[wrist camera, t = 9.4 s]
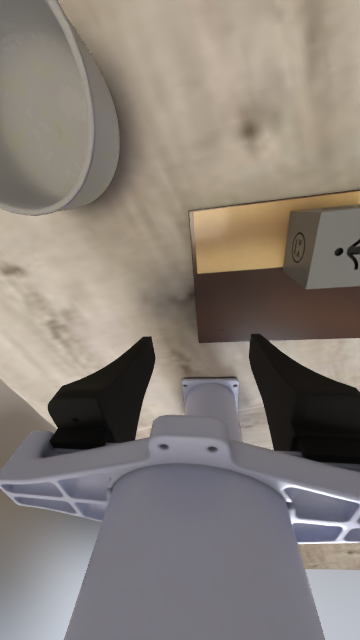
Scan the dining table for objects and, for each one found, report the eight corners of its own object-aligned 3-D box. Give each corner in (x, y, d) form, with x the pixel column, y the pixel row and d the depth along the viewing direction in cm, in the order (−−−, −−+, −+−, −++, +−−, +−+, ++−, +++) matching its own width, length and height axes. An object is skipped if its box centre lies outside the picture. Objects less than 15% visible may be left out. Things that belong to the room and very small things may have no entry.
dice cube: (340, 266, 18) (383, 284, 14) (282, 271, 19) (305, 289, 15) (357, 204, 16) (414, 202, 12) (290, 211, 17) (321, 212, 12)
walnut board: (397, 329, 22) (410, 336, 21) (199, 336, 25) (198, 343, 24) (469, 175, 16) (494, 172, 14) (189, 210, 19) (188, 210, 17)
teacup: (101, 13, 14) (-5, -192, 7) (152, 194, 18) (120, 185, 11) (-48, 96, 17) (-230, 14, 10) (29, 234, 21) (-55, 246, 14)
